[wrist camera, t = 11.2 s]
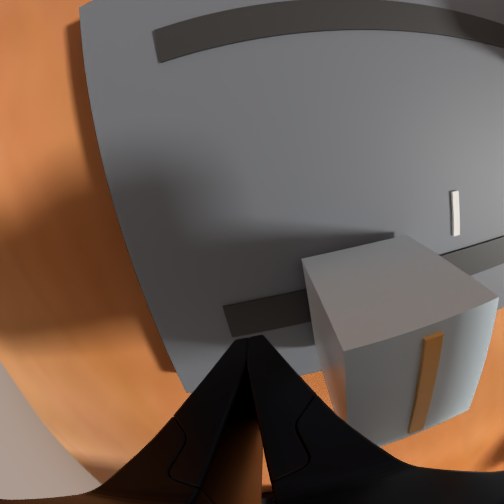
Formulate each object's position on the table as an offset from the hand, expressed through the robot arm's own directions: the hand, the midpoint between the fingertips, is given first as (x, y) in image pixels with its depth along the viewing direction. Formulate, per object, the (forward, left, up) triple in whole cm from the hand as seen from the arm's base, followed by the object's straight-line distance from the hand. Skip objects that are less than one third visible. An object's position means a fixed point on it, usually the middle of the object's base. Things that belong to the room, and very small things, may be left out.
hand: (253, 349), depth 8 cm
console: (+5, -8, -3) cm, 9 cm away
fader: (0, -4, -1) cm, 4 cm away
